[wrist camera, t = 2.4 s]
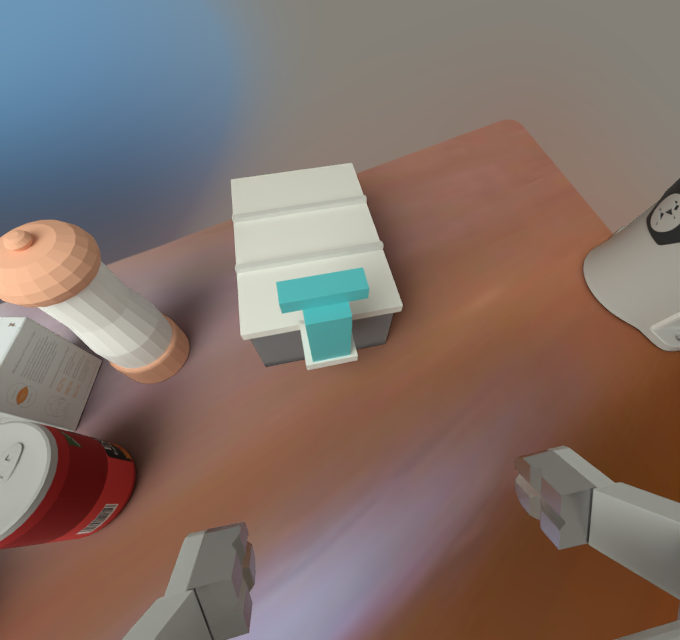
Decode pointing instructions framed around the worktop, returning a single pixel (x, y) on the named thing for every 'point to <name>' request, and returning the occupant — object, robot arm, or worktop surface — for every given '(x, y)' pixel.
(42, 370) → the small box
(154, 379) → the pepper shaker
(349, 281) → the lid
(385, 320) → the tub
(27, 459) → the canned food
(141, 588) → the worktop surface
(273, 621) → the worktop surface
